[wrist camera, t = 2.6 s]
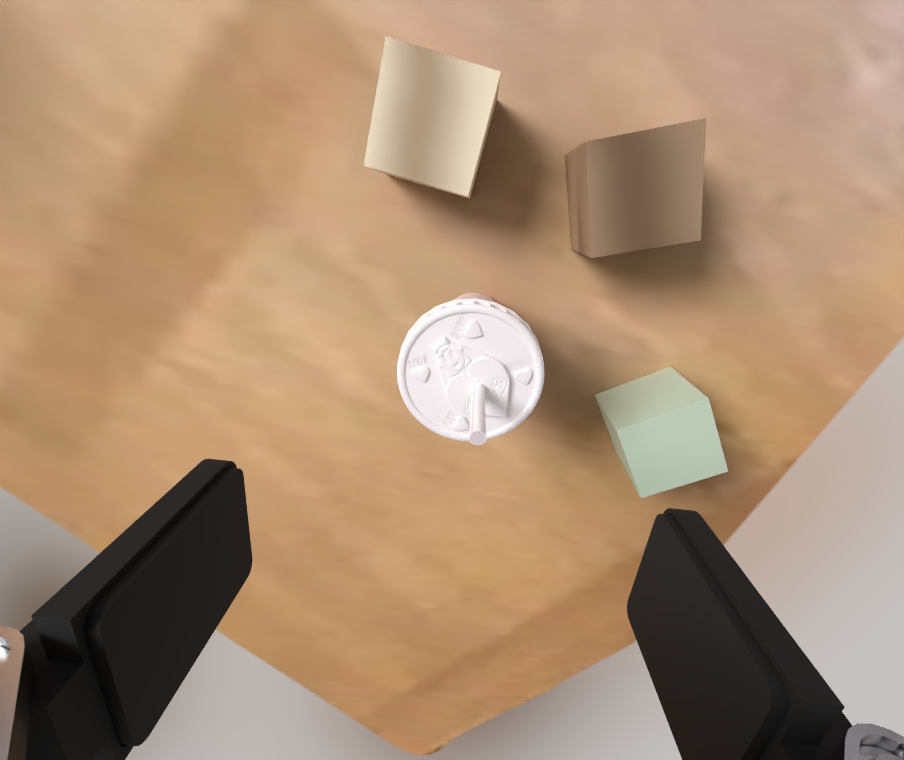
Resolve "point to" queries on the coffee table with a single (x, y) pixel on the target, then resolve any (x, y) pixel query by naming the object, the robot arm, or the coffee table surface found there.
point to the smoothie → (470, 369)
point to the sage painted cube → (662, 431)
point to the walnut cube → (637, 190)
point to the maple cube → (430, 117)
